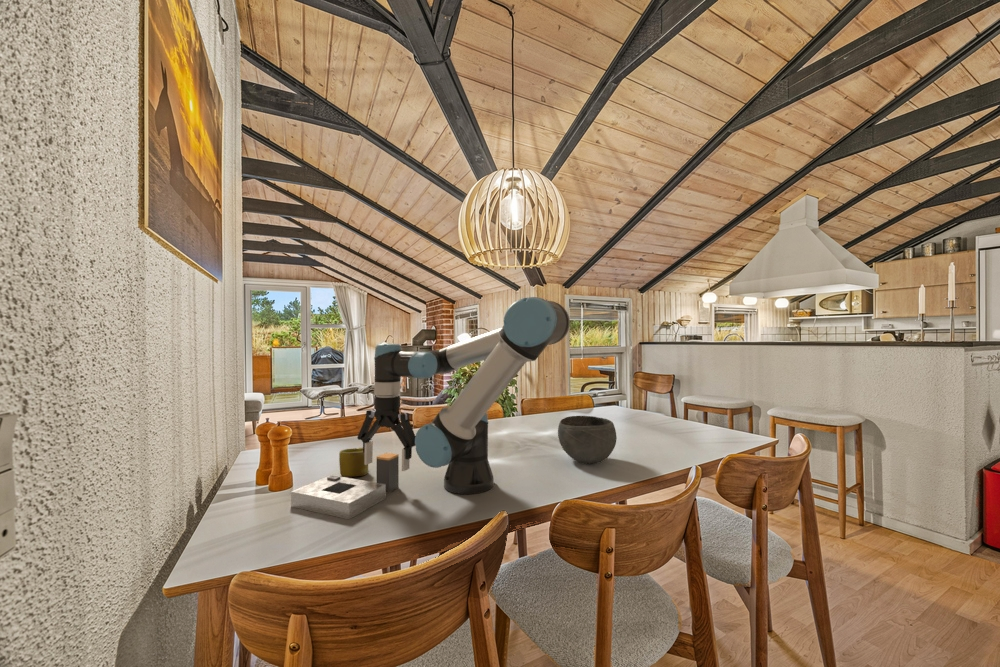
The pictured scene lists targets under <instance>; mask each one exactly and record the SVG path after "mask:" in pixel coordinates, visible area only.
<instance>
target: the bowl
mask: <svg viewBox="0 0 1000 667" xmlns="http://www.w3.org/2000/svg"><path fill="white" fill-rule="evenodd" d="M557 438H558V442H559V444H560V446H561V448H562V450H563V451H564V452H565V453H566V455H568V456H569V458H572V460H574V461H575V462H576V463H580V464H583V465H597V464H600V463H601V462H604V461H605V460H607V459H608V458H609V456H611V454H612V452H613V451H614V449H615V447H616V445H617V430H616V428H615V424H614V423H613V421H612V420H610V419H607V418H603V417H598V416H592V415H591V416H590V415H571V416H567V417H563V418H562V419H560V421H559V423H558V426H557Z"/></svg>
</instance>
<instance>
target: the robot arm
mask: <svg viewBox="0 0 1000 667" xmlns="http://www.w3.org/2000/svg"><path fill="white" fill-rule="evenodd" d="M570 326H571V321H570V316H569V314H568V311H567V310H566V309H565V307H564V306H563V305H561V304H560V303H559V302H555V301H552V300H547V299H544V298H541V297H537V296H536V297H535V296H530V297H522V298H520V299H518V300H516V301H514V302H512V304H511V305H510V306H509V307H508V308H507V310H506V312H505V313H504V317H503V326H501V327H499V328H496V329H493V330H490V331H488V332H485V333H483V334H478V335H476V336H473V337H471V338H468V339H466V340H463V341H460V342H457V343H454V344H451V345H449V346H446V347H443V348H440V349H435V350H419V351H417V350H416V351H415V350H414V351H411V350H410V351H407V350H406V351H404V350H402V347H401V344H399V343H378V344H377V345H376V346H375V350H374V358H373V360H374V382H373V383H374V386H373V387H374V390H373V394H374V396H375V397H373V398H374V400H373V403H374V404H373V407H374V408H372V409H368V410H366V412H365V418H364V421H363V423H362V425H361V428H360V430H359V432H358V434H357V438H356V439H357V440H359V441H361V442H362V447H363V453H365V457H364V465H367V464H368V465H369V464H371V463H373V450H374V449H373V445H374V442H373V440H372V438H373V437H374V436H375V435H376V433H377V432H378V431H379V429H380V428H387V429H390V428H391V430H392V431H394V433H395V434H396V436H397V437H398V439H399V441H400V442H401V444H402V445H403V447H402V448H401V472H406V471H407V470H409V469H410V459H412V457H413V456H412V451H413V449H412V448H413V447H415V452H416V455H418V457H419V459H420V461H421V462H423V463H424V464H425V465H426V466H427V467H430V468H433V469H434V468H435V469H438V468H439V469H440V468H442V467H445V466H447V468H446V471H445V474H444V478H443V487H444V489H445V490H446V491H448V492H451V493H453V494H460V495H474V494H480V493H485V492H487V491H489V490H491V489H492V488H493V487H494V474H493V471H492V468H491V465H490V461H489V455H488V454H489V421H488V417H489V416H488V411H489V410H490V408H491V407H492V406H493V405H494V403H495V402H496V401H497V400H498V398H500V396H501V395H502V393H503V392H504V391H505V389H506V388H507V387H508V386H509V385H510V383H511V382H512V381H513V379H514V378H515V377H516V375H517V374H518V373H520V371H521V369H522V368H523V367H524V366H525V365H526V363H527V362H528V363H529V362H535V361H536V360H537V359H538V357H539V356H540V355H541V354H542V353H543V351H544V350H545V349H546V348H547V346H549V345H550V346H551V345H555V344H557V343H559V342H561V341H562V340H563V339H564V338H565V337H566V336H567V334H568V332H569V330H570ZM480 362H482V364H481V365H480V366H479V368H478V369H477V371H476V372H475V373H474V375H472V376H471V378H470V380H469V381H468V383H467V384H466V385H465V386H464V388H462V390H461V392H460V393H459V394H458V396H457V397H456V398H455V399H454V401H453V402H452V404H451V405H450V406H444V407H443V408H441V409H440V410H439V411H438V413H437V414H436V416H435V417H434V418H433V420H431V422H430V423H426V424H424V425H423V426H421V427H420V428H418V430H417V431H416V433H415V432H414V430H413V427H412V424H411V422H410V414H409V413H408V412H404V413H400V408H401V396H400V394H401V378H402V377H403V378H413V379H418V380H421V379H430V378H432V377H433V376H436V375H442V374H443V375H446V374H450V373H452V372H454V371H455V370H457V369H460V368H464V367H467V366H470V365H472V364H476V363H480ZM374 418H375V419H376V420H374Z"/></svg>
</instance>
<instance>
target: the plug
mask: <svg viewBox="0 0 1000 667" xmlns="http://www.w3.org/2000/svg"><path fill="white" fill-rule="evenodd" d="M399 458H400V457H399V454H398V453H392V452H391V453H390V452H385V453H382V454H380V455H378V456H376V483H381V484H386V494H387V493H391V492H394V491H395V490H397V489H398V488H399V485H400V484H399V481H400V480H399V479H400V478H399V468H400V467H399V466H400V465H399Z"/></svg>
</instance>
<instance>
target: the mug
mask: <svg viewBox="0 0 1000 667" xmlns="http://www.w3.org/2000/svg"><path fill="white" fill-rule="evenodd" d="M364 457H365V453H363V446H361V447H358V448H357V447H354V448H345V449H342V450H340V451H339V456H338V458H339V460H338V462H339V472H340V475H341V476H340V477H346V478H352V477H362V476H365V475H367V474H368V472H369V464H367V465H364Z"/></svg>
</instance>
